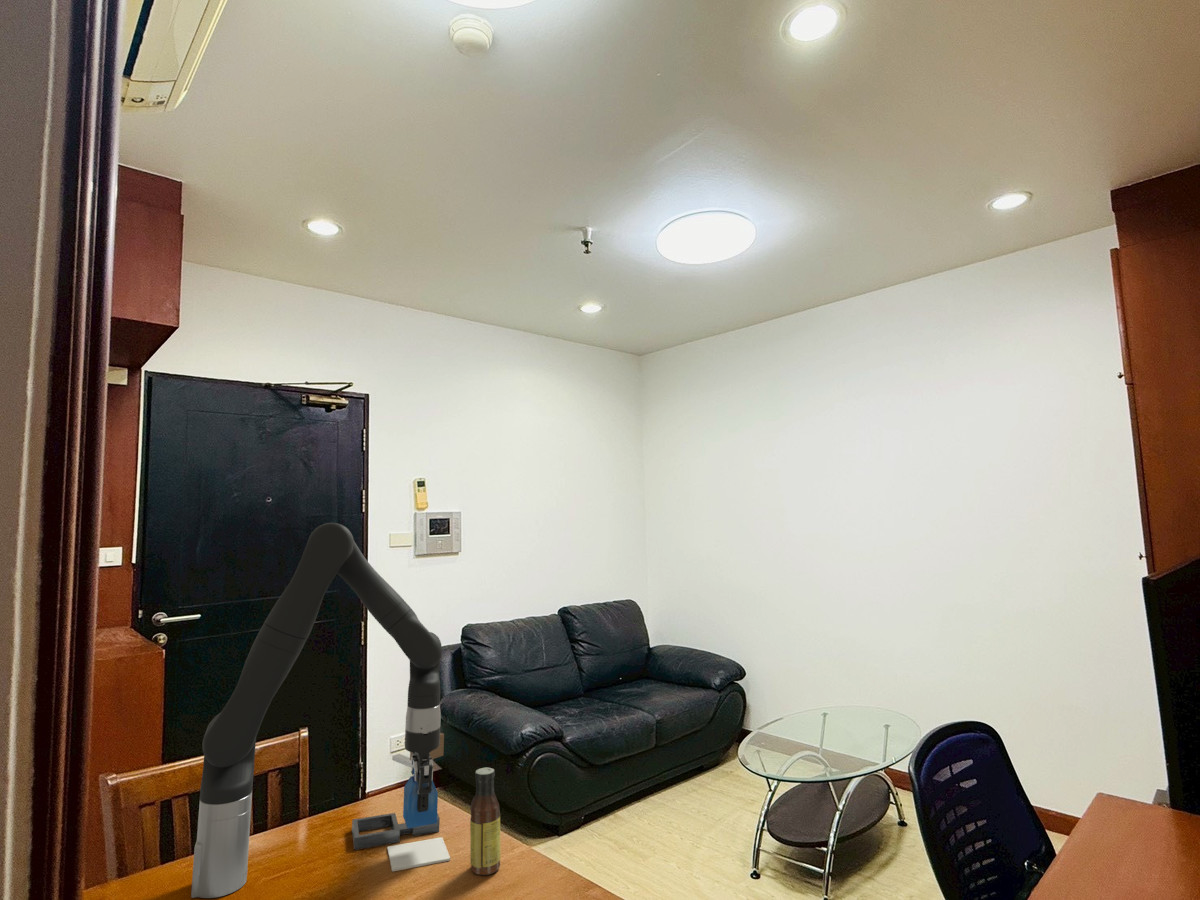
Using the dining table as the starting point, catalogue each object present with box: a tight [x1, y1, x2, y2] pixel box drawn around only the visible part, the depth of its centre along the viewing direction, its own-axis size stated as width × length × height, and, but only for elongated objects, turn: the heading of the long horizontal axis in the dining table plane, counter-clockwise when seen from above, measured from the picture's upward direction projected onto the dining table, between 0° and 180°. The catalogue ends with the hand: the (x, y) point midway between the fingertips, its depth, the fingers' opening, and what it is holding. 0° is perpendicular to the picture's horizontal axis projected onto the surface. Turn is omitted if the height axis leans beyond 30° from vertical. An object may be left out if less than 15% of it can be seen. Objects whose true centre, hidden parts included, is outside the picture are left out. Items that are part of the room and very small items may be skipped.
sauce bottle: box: [469, 767, 502, 876], centre depth 140 cm, size 7×6×20 cm
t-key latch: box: [391, 732, 445, 780], centre depth 161 cm, size 14×7×18 cm, turn 53°
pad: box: [387, 836, 451, 873], centre depth 144 cm, size 12×10×1 cm
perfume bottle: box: [402, 769, 439, 828], centre depth 146 cm, size 6×6×12 cm
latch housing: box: [351, 812, 441, 851], centre depth 154 cm, size 19×10×3 cm, turn 113°
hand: (420, 804), depth 145 cm, fingers closed on perfume bottle, 6 cm apart
